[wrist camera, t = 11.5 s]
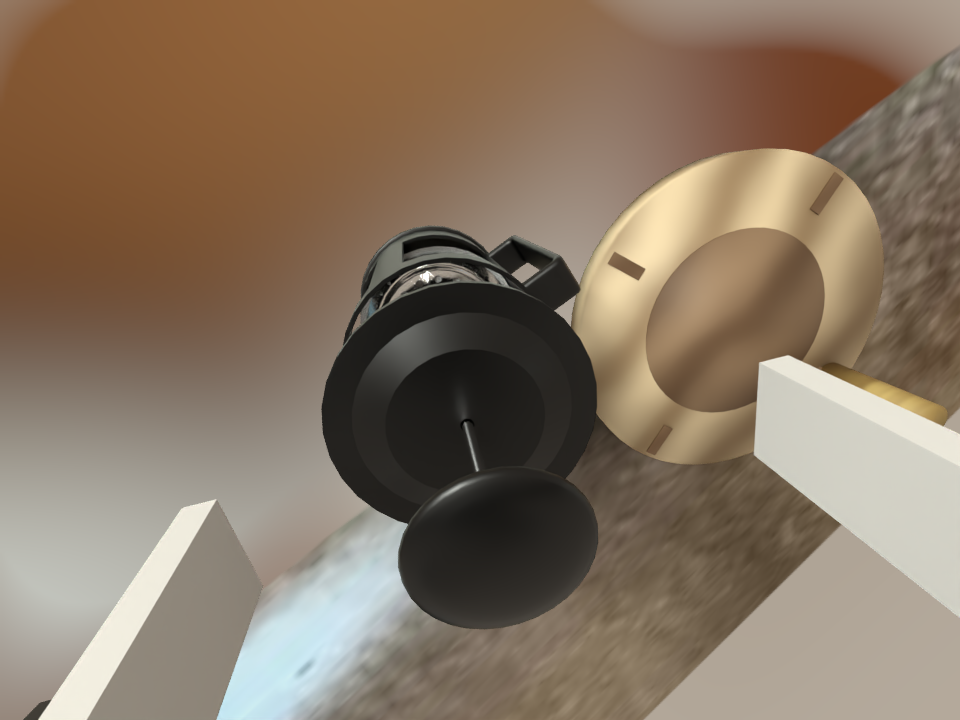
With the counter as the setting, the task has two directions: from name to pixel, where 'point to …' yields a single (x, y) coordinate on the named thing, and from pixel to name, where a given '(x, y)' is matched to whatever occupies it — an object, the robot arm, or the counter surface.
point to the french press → (469, 423)
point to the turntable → (729, 299)
